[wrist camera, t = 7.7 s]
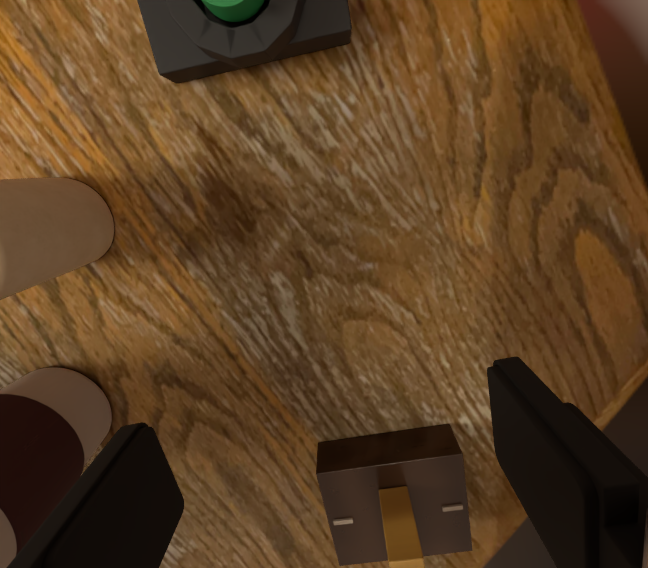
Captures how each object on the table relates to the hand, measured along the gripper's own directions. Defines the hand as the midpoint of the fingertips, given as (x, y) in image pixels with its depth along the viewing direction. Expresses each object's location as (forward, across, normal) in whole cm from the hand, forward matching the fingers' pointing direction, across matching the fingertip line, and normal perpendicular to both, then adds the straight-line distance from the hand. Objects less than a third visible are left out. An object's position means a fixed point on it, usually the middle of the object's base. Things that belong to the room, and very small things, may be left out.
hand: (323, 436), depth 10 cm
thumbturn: (+12, -1, +17) cm, 21 cm away
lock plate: (+15, -1, +17) cm, 23 cm away
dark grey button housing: (+15, +1, -15) cm, 21 cm away
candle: (+15, +15, -7) cm, 23 cm away
